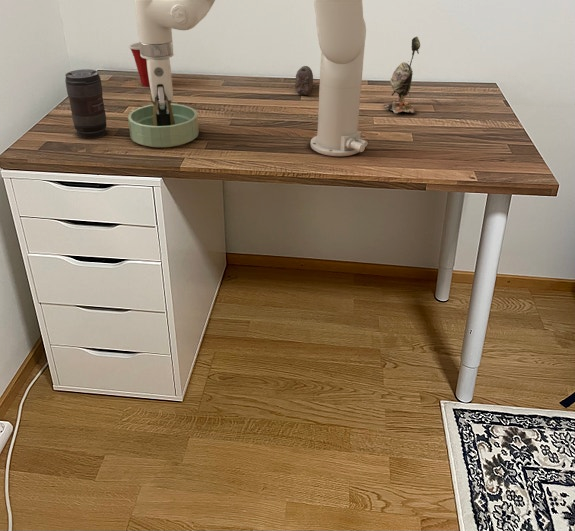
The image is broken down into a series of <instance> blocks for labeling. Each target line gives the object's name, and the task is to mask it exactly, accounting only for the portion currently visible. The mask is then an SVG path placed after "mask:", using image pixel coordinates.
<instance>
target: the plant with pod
mask: <svg viewBox="0 0 575 531" xmlns="http://www.w3.org/2000/svg"><path fill="white" fill-rule="evenodd" d="M420 48H421V42H420V39H419V37H418V36H415V37H413V38H412V39H411V51H412V52H411V59H410V61H408V60H407V62H405V61H403V62H401V63H400V64H399V65H398V66H397V67H396V68H395V69H394V71H393V72H392V75H391V77H390V86H391V88H392V91H393V92H392V93H391V96H392V97H393V96H394V95H395V94H397V96H398V97H397V100H393V101H392V102H391V103H388V104H384V105H383V107H384V108H385V109H386V110H390V111H393V113H394V114H399V113H403V112H405V113H410V114H415V112H416V111H415V108H414V107H413V106H412V105H410V103H409V102H408V101H406V100H405V99H406V97H407V96H408V95H409V93H410V90H411V85H412V80H413V75H414V74H413V73H414V72H413V69H412V62H413V59H414V56H415V53H417V55H418V54H420V52H419V50H420ZM409 62H410V63H409Z"/></svg>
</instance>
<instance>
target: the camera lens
mask: <svg viewBox="0 0 575 531" xmlns="http://www.w3.org/2000/svg"><path fill="white" fill-rule="evenodd" d="M101 79H102V78H101V76H100V74H99V71H98V70H96V69H91V68H90V69H76V70H70V71H68V72H66V73H65V81H64V82H65V88H66V93H67V97H68V99H69V106H70V112H71V118H72V123H73V127H74V129H75V131H76V133H77V136H78V137H79V138H82V139H91V140H92V139H97V138H100V137H104V135H105V134H106V128H107V115H106V110H105V103H104V97H103V86H102V80H101Z"/></svg>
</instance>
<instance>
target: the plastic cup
mask: <svg viewBox="0 0 575 531" xmlns="http://www.w3.org/2000/svg"><path fill="white" fill-rule="evenodd" d="M128 48H129V49H130V51H131V53H132V56H133V58H134V62H135V66H136V70H137V72H138V75H139V79H140V83H141V84H142V86H144V87H149V88H150V84H149V77H148V70H147V61H146V59H145V58H142V57H141V56H140V47H139V42H135V43H131V44H129V45H128Z"/></svg>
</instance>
